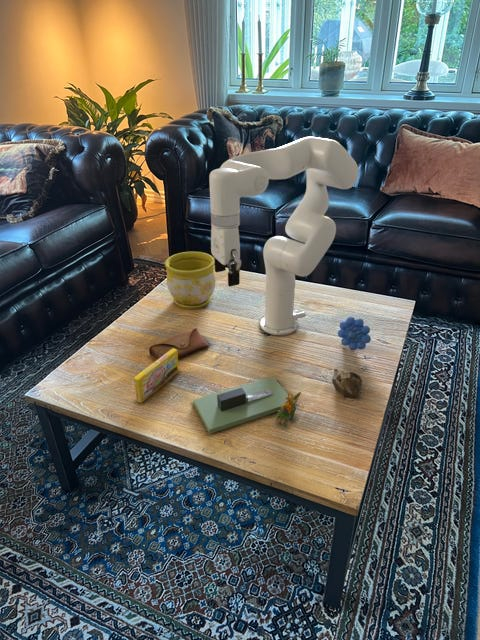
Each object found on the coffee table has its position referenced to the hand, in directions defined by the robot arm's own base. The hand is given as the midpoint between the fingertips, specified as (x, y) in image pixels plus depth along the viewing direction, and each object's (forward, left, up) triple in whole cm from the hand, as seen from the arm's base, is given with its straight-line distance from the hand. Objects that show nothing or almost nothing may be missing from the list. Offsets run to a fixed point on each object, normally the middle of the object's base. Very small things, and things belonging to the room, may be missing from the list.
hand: (226, 277), depth 124 cm
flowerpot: (-1, -37, -26) cm, 46 cm away
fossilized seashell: (-23, +29, -26) cm, 46 cm away
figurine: (-3, +32, -26) cm, 42 cm away
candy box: (+24, +6, -26) cm, 36 cm away
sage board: (+6, +23, -26) cm, 35 cm away
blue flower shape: (-37, +14, -26) cm, 48 cm away
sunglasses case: (+13, -8, -26) cm, 31 cm away
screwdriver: (+5, +23, -25) cm, 34 cm away
